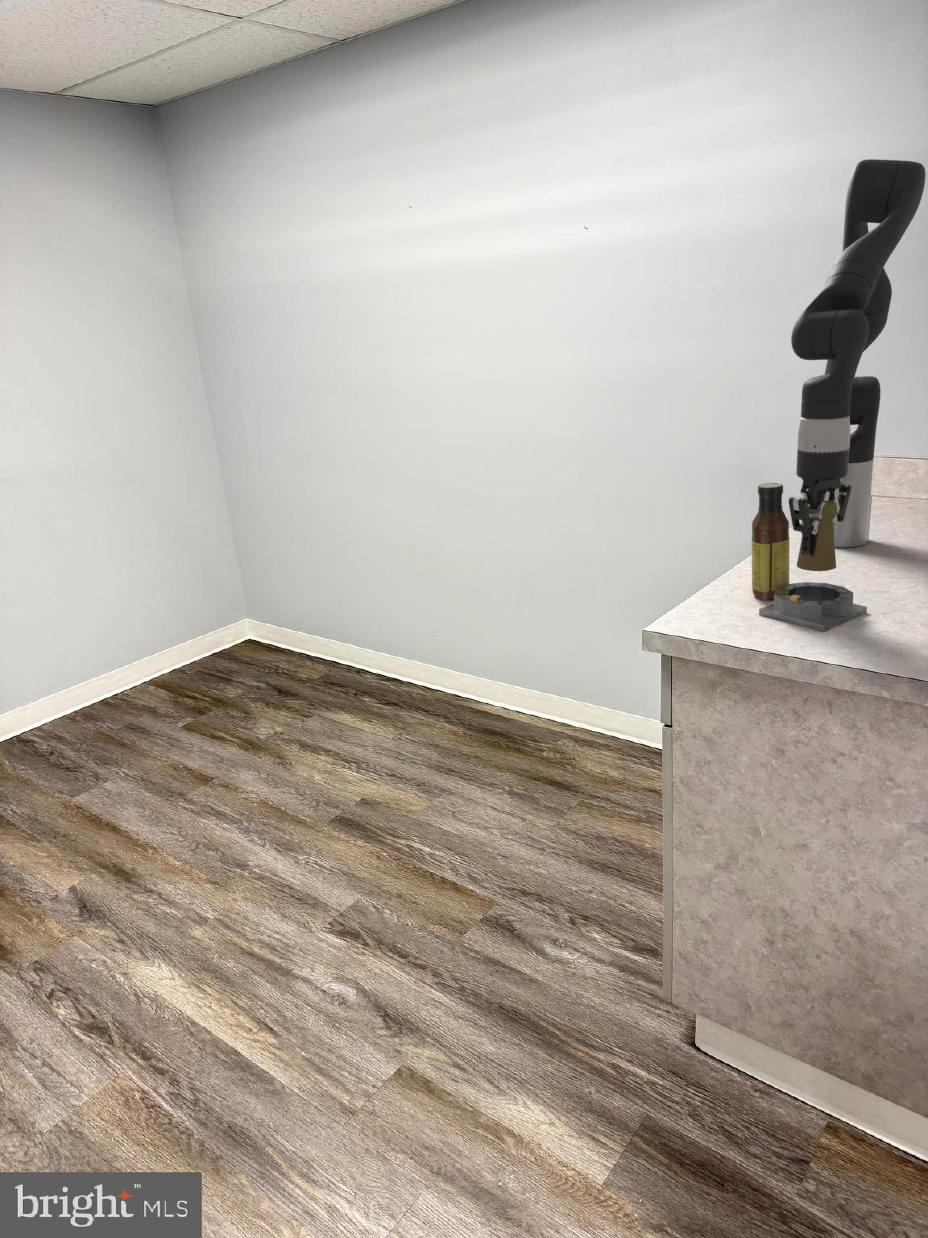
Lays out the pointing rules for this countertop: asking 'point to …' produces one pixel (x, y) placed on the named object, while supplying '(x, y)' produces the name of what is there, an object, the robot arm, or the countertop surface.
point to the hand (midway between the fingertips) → (817, 552)
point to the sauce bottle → (770, 543)
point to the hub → (813, 605)
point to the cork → (821, 542)
